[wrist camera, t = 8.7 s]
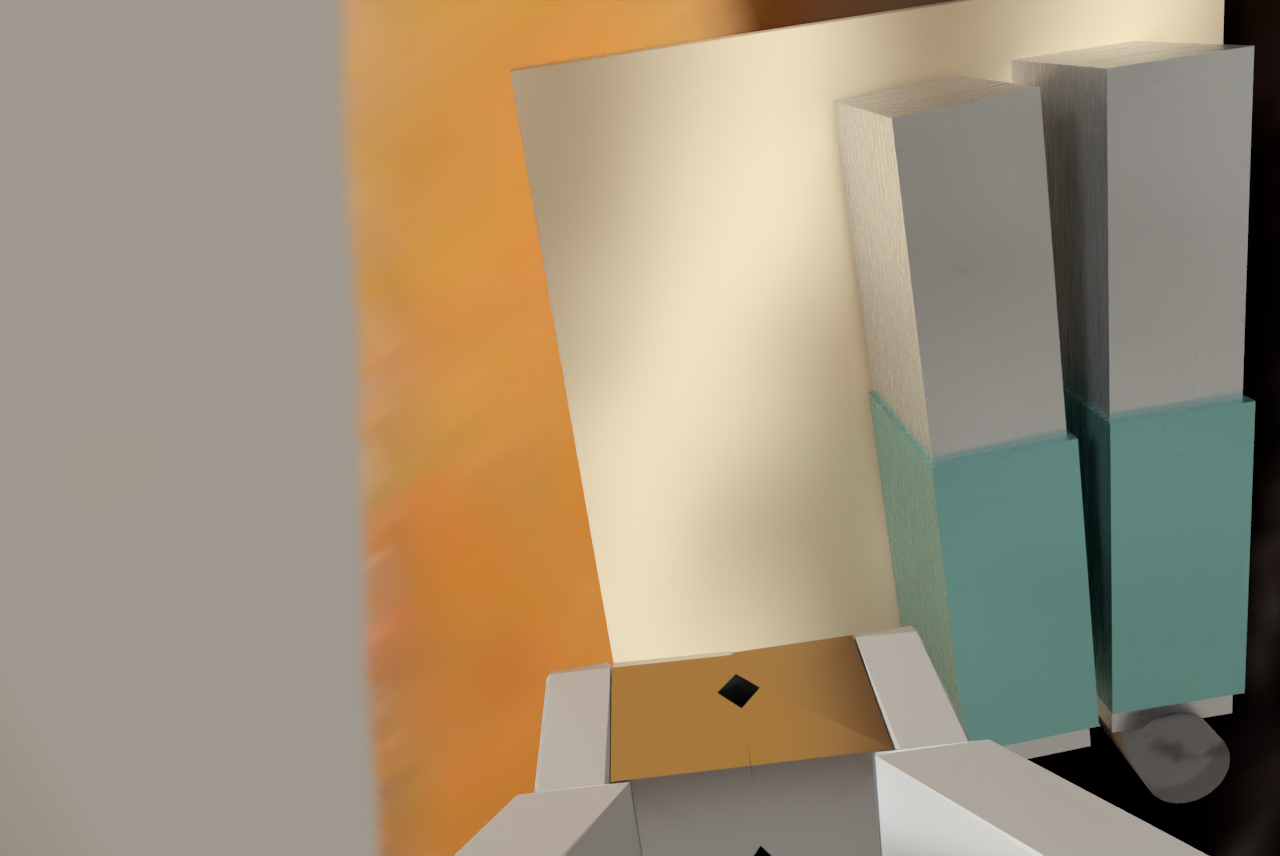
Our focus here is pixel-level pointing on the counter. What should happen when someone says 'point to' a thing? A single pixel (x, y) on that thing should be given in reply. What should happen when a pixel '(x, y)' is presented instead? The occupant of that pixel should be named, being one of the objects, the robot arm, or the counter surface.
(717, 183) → the board
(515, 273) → the counter surface
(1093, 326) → the tongs fixed arm
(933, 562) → the tong arm
